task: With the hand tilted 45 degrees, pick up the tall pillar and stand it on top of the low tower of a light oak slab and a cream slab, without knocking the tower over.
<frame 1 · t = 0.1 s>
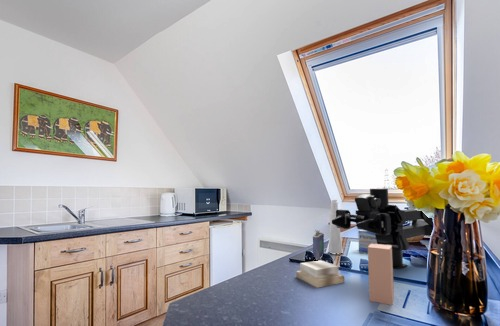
hand: (344, 223, 88), 17 cm above the countertop, tool horizontal, fingers open, 9 cm apart
cosmetic bottle: (335, 253, 120), on the countertop
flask: (318, 258, 111), on the countertop
tower base slab: (319, 281, 87), on the countertop, touching tower top slab
tower top slab: (319, 273, 87), point 2 cm above the countertop, touching tower base slab
pillar: (381, 299, 72), on the countertop
medicine box: (369, 251, 122), on the countertop
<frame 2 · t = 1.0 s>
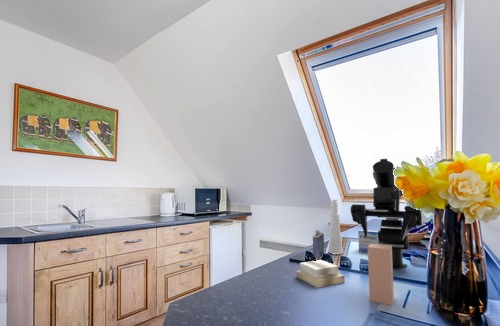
hand: (383, 237, 80), 14 cm above the countertop, tool tilted 45°, fingers open, 9 cm apart
nothing on the countertop moved.
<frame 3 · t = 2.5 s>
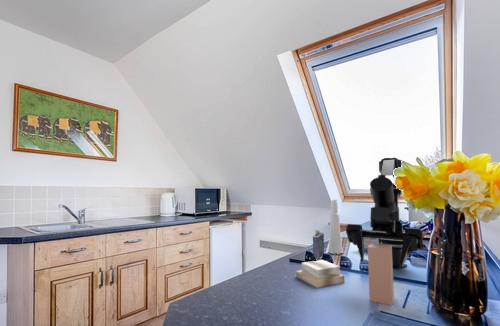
hand: (381, 263, 73), 9 cm above the countertop, tool tilted 45°, fingers open, 9 cm apart
nothing on the countertop moved.
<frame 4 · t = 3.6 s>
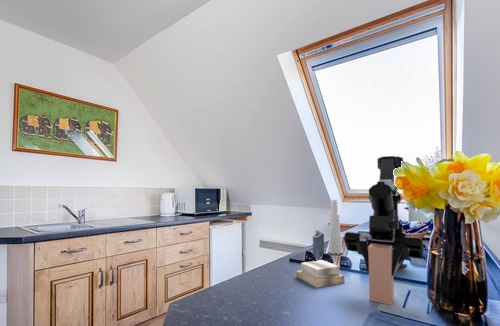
hand: (380, 273, 71), 7 cm above the countertop, tool tilted 45°, fingers closed on pillar, 5 cm apart
pillar: (381, 299, 72), on the countertop, touching gripper
everything else where it was.
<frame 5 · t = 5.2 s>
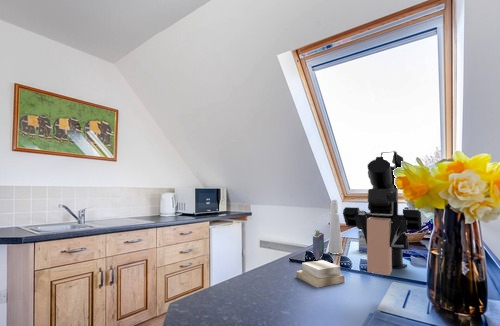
hand: (378, 245, 72), 13 cm above the countertop, tool tilted 45°, fingers closed on pillar, 5 cm apart
pillar: (379, 270, 72), point 7 cm above the countertop, touching gripper
everything else where it was.
when the fingers open (13 cm above the countertop, at t = 7.4 s): pillar stays where it is, resting on tower top slab.
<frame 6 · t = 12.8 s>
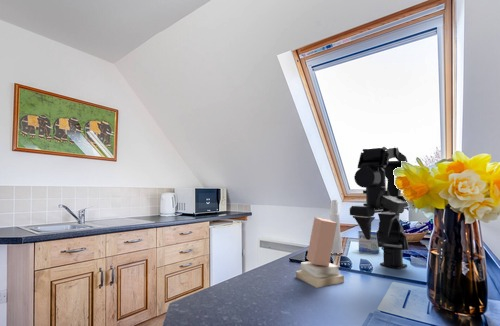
hand: (377, 238, 89), 12 cm above the countertop, tool pointing down, fingers open, 9 cm apart
tower top slab: (319, 272, 87), point 2 cm above the countertop, touching pillar, tower base slab
pillar: (317, 262, 87), point 5 cm above the countertop, tilted 12°, touching tower top slab
everything else where it was.
at the end: pillar 0.7 cm off-centre on the tower top slab, point 2.8 cm above the tower top slab's base; pillar tilted 6°; tower top slab 0.6 cm off-centre on the tower base slab, point 2.5 cm above the tower base slab's base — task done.
